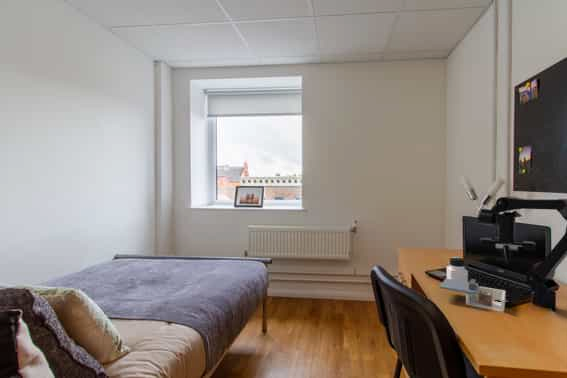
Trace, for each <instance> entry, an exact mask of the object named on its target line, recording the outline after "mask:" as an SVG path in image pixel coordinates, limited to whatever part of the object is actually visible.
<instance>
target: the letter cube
mask: <svg viewBox="0 0 567 378" xmlns="http://www.w3.org/2000/svg"><path fill="white" fill-rule="evenodd" d="M479 304H480V305H486V306H492V293H490V292H484V291H480V292H479Z"/></svg>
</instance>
